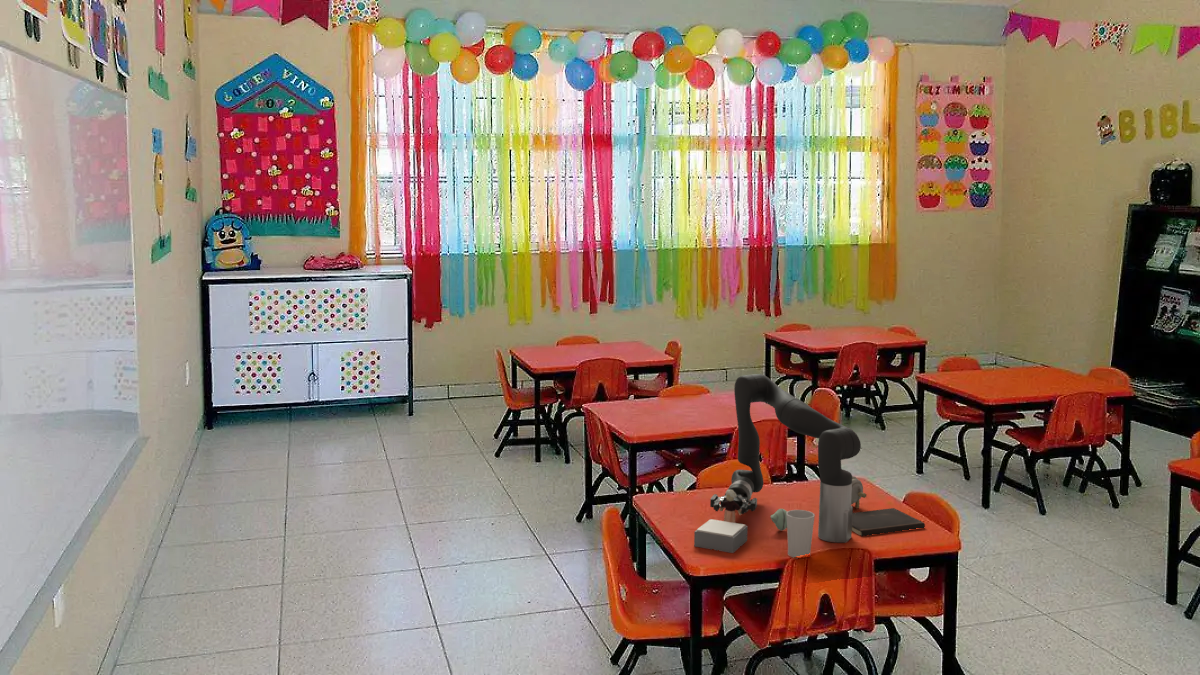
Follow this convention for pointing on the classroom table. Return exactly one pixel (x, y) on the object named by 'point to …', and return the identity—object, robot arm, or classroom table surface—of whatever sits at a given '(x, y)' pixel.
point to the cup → (799, 532)
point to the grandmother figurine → (730, 507)
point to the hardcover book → (883, 522)
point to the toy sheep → (856, 491)
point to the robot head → (780, 519)
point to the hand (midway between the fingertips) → (729, 509)
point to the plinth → (720, 535)
